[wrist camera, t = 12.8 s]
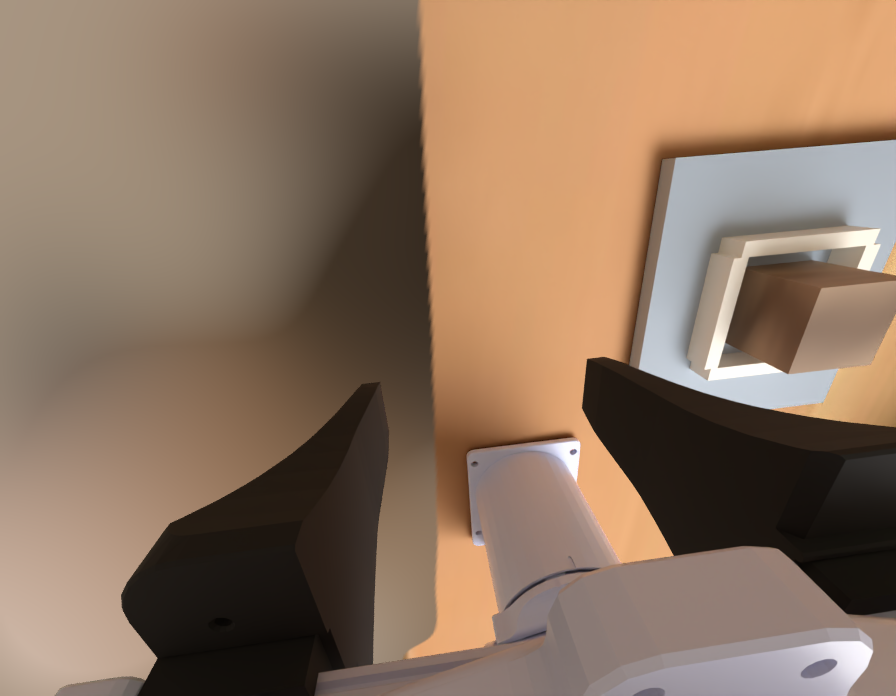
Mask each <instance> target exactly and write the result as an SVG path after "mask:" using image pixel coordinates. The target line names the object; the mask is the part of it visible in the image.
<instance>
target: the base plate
mask: <svg viewBox="0 0 896 696" xmlns="http://www.w3.org/2000/svg"><path fill="white" fill-rule="evenodd" d="M895 242H896V140H887V141H875V142H863V143H851V144H839V145H827V146H815V147H802V148H790V149H778V150H766V151H754V152H742V153H730V154H717V155H705V156H693V157H681V158H670V159H662V165H661V172H660V178H659V184H658V190H657V196H656V202H655V209H654V215H653V221H652V227H651V233H650V239H649V246H648V252H647V258H646V264H645V270H644V277H643V283H642V289H641V295H640V301H639V307H638V314H637V320H636V326H635V332H634V338H633V344H632V351H631V357H630V363H629V365H630V366H632V367H635V368H637V369H640V370H642V371H645V372H647V373H650V374H652V375H655V376H658V377H660V378H663V379H666V380H668V381H671V382H674V383H676V384H679V385H682V386H685V387H688V388H691V389H694V390H697V391H700V392H703V393H706V394H710V395H713V396H717V397H720V398H724V399H728V400H731V401H735V402H739V403H743V404H747V405H751V406H756V407H760V408H765V409H775V408H783V407H791V406H799V405H807V404H816V403H823V402H824V400H825V397H826V395H827V393H828V391H829V389H830V386H831V384H832V382H833V380H834V377H835V375H836V373H837V371H838V369H830V370H822V371H813V372H805V373H796V374H786V373H784V372H782V371H780V370H778V369H776V368H774V367H772V366H770V365H768V364H766V363H764V362H762V361H760V360H758V359H756V358H754V357H752V356H750V355H748V354H746V353H744V352H742V351H740V350H738V349H736V348H734V347H732V346H730V345H728V344H726V343H725V340H726V337H727V333H728V330H729V326H730V323H731V319H732V316H733V312H734V308H735V305H736V301H737V298H738V294H739V291H740V287H741V284H742V280H743V277H744V273H745V270H746V267H748V266H758V265H768V264H778V263H788V262H799V261H809V260H814V261H820V262H825V263H831V264H836V265H841V266H847V267H852V268H858V269H863V270H868V271H874V272H879V273H882V271H883V268H884V266H885V264H886V262H887V259H888V257H889V255H890V253H891V251H892V248H893V246H894V244H895Z"/></svg>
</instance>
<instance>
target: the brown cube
mask: <svg viewBox="0 0 896 696" xmlns="http://www.w3.org/2000/svg"><path fill="white" fill-rule="evenodd" d="M895 314H896V276H895V275H890V274H884V273H879V272H874V271H868V270H863V269H858V268H852V267H847V266H841V265H836V264H831V263H825V262H820V261H814V260H809V261H799V262H788V263H778V264H768V265H758V266H748V267H746V270H745V273H744V277H743V280H742V284H741V287H740V291H739V294H738V298H737V301H736V305H735V308H734V312H733V316H732V319H731V323H730V326H729V330H728V333H727V337H726V340H725V343H726V344H728V345H730V346H732V347H734V348H736V349H738V350H740V351H742V352H744V353H746V354H748V355H750V356H752V357H754V358H756V359H758V360H760V361H762V362H764V363H766V364H768V365H770V366H772V367H774V368H776V369H778V370H780V371H782V372H784V373H786V374H796V373H805V372H813V371H822V370H830V369H839V368H847V367H856V366H865V365H871V363H872V361H873V358H874V356H875V354H876V352H877V350H878V348H879V346H880V344H881V342H882V340H883V338H884V336H885V334H886V332H887V330H888V328H889V326H890V324H891V322H892V320H893V318H894V316H895Z"/></svg>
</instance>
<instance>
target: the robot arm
mask: <svg viewBox="0 0 896 696" xmlns="http://www.w3.org/2000/svg"><path fill="white" fill-rule="evenodd" d="M582 409H583V411H584V413H585V415H586V417H587V419H588V421H589V423H590V425H591V426H592V428H593V430H594V432H595V433H596V435H597V436H598V438H599V439H600V440H601V442H602V443H603V444H604V446H605V447H606V449H607V450H608V451H609V453H610V454H611V455H612V457H613V458H614V460H615V461H616V462H617V464H618V465H619V466H620V468H621V469H622V470H623V472H624V473H625V475H626V476H627V477H628V479H629V480H630V481H631V483H632V484H633V486H634V487H635V489H636V490H637V492H638V493H639V495H640V496H641V498H642V500H643V501H644V503H645V505H646V506H647V508H648V510H649V512H650V513H651V515H652V517H653V518H654V520H655V522H656V524H657V525H658V527H659V529H660V531H661V533H662V535H663V536H664V538H665V540H666V542H667V544H668V546H669V547H670V549H671V551H672V553H673V555H674V556H671V557H664V558H657V559H650V560H643V561H636V562H630V563H623V564H621V562H620V560H619V558H618V557H617V555H616V553H615V551H614V549H613V548H612V546H611V544H610V542H609V540H608V539H607V537H606V535H605V533H604V531H603V530H602V528H601V526H600V524H599V522H598V521H597V519H596V517H595V515H594V513H593V512H592V510H591V508H590V506H589V504H588V503H587V501H586V499H585V497H584V495H583V494H582V492H581V490H580V488H579V486H578V485H577V483H576V482H577V473H578V464H579V455H580V442H579V440H578V439H577V438H574V437H572V438H564V439H556V440H548V441H540V442H532V443H524V444H515V445H507V446H499V447H491V448H483V449H475V450H471V451H469V452H468V453H467V469H468V484H469V499H470V513H471V528H472V540H473V544H475V545H477V546H480V545H485V547H486V552H487V557H488V562H489V567H490V571H491V576H492V581H493V586H494V591H495V596H496V601H497V606H498V611H499V613H498V614H495V615H493V616H492V620H493V626H494V631H495V636H496V641H493V642H489V643H487V644H485V646H484V647H483V648H476V649H470V650H463V651H457V652H450V653H444V654H437V655H431V656H424V657H418V658H412V659H405V660H399V661H392V662H386V663H379V664H373V631H374V628H373V627H374V595H375V571H376V570H375V569H376V549H377V531H378V521H379V513H380V507H381V501H382V494H383V488H384V482H385V475H386V469H387V462H388V448H389V430H388V424H387V418H386V413H385V407H384V402H383V396H382V391H381V385H380V382H378V383H369V384H362V385H361V386H360V387H359V388H358V389H357V390H356V392H354V394H353V395H352V396H351V397H350V398H349V399H348V401H347V402H346V403H345V404H344V405H343V406H342V408H340V410H339V411H338V412H337V413H336V414H335V415H334V416H333V417H332V418H331V419H330V420H329V421H328V422H327V423H326V424H325V425H324V426H323V427H322V428H321V429H320V430H319V431H318V432H317V433H316V434H315V435H314V436H312V437H311V438H310V439H309V440H308V441H307V442H306V443H305V444H303V445H302V446H301V447H299V448H298V449H297V450H296V451H295V452H293V453H292V454H291V455H289V456H288V457H287V458H285V459H284V460H282V461H281V462H280V463H278V464H277V465H275V466H274V467H272V468H271V469H269V470H268V471H266V472H265V473H263V474H262V475H260V476H259V477H257V478H256V479H254V480H252V481H251V482H249V483H247V484H246V485H244V486H243V487H241V488H239V489H237V490H235V491H234V492H232V493H230V494H228V495H226V496H225V497H223V498H221V499H219V500H217V501H215V502H213V503H211V504H209V505H207V506H205V507H203V508H201V509H199V510H197V511H195V512H193V513H191V514H189V515H187V516H185V517H183V518H181V519H179V520H177V521H174V522H172V523H170V524H169V526H168V527H167V528H166V529H165V531H164V532H163V533H162V535H161V536H160V538H159V539H158V541H157V542H156V543H155V545H154V546H153V547H152V549H151V550H150V552H149V553H148V554H147V556H146V557H145V559H144V560H143V561H142V563H141V564H140V565H139V567H138V568H137V570H136V571H135V572H134V574H133V575H132V577H131V578H130V579H129V581H128V582H127V584H126V586H125V588H124V590H123V592H122V594H121V600H122V609H123V612H124V614H125V616H126V617H127V619H128V621H129V623H130V624H131V625H132V627H133V628H134V629H135V630H136V632H137V633H138V634H139V635H140V636H141V638H142V639H143V640H144V642H145V643H146V644H147V645H148V647H149V648H150V649H151V650H152V651H153V653H154V654H155V655H156V657H157V658H158V659H157V661H156V662H155V664H154V666H153V668H152V670H151V672H150V674H149V675H148V678H147V679H146V681H145V680H143V679H141V678H137V677H117V678H110V679H103V680H97V681H90V682H83V683H77V684H71V685H66V686H64V687H62V688H60V689H59V690H58V692H57V693H56V695H55V696H896V427H886V426H877V425H868V424H858V423H849V422H841V421H833V420H827V419H820V418H814V417H807V416H801V415H796V414H790V413H784V412H779V411H775V410H770V409H765V408H760V407H756V406H751V405H747V404H743V403H739V402H735V401H731V400H728V399H724V398H720V397H717V396H713V395H710V394H706V393H703V392H700V391H697V390H694V389H691V388H688V387H685V386H682V385H679V384H676V383H674V382H671V381H668V380H666V379H663V378H660V377H658V376H655V375H652V374H650V373H647V372H645V371H642V370H640V369H637V368H635V367H632V366H630V365H627V364H624V363H622V362H619V361H616V360H613V359H610V358H606V357H600V358H591V359H587V365H586V375H585V384H584V394H583V404H582ZM572 449H574V450H572ZM571 450H572V451H571ZM474 461H476V463H472V462H474Z"/></svg>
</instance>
